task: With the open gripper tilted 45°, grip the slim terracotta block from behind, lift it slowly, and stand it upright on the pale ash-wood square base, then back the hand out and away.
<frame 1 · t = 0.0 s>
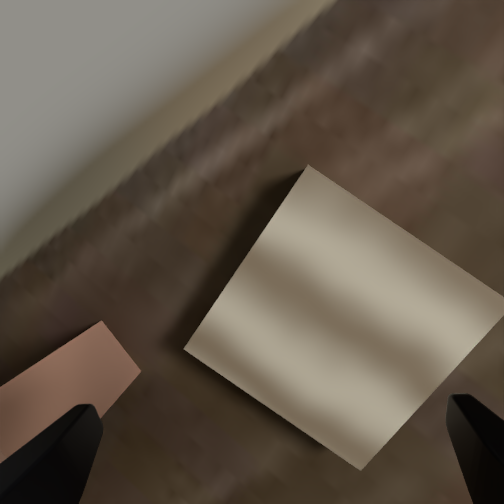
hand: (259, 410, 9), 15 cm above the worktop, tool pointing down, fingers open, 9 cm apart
terracotta block: (98, 362, 27), on the worktop
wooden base: (331, 311, 24), on the worktop
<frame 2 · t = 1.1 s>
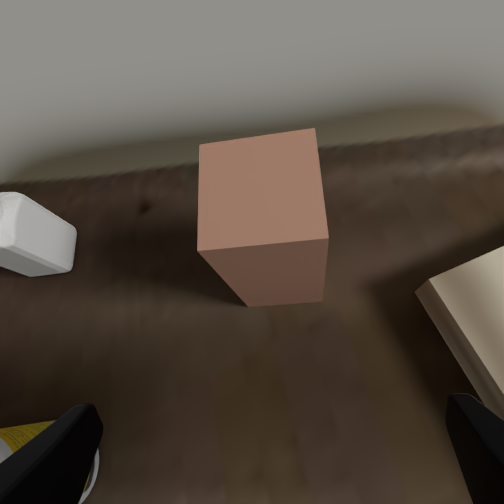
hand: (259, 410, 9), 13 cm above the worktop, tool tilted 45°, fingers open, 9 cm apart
supplement bottle: (65, 464, 22), on the worktop
terracotta block: (282, 269, 24), on the worktop
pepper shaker: (57, 254, 28), on the worktop
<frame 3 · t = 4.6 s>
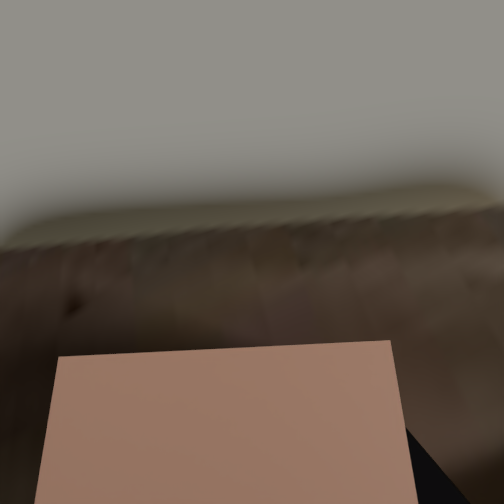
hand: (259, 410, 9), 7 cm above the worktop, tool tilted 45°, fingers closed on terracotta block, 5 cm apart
terracotta block: (284, 435, 14), on the worktop, touching gripper
when the fingers open (11 cm above the worktop, at t = 9.9 s): terracotta block drops 1 cm, resting on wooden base.
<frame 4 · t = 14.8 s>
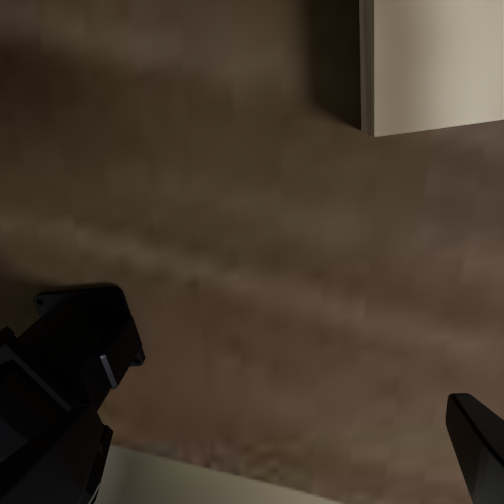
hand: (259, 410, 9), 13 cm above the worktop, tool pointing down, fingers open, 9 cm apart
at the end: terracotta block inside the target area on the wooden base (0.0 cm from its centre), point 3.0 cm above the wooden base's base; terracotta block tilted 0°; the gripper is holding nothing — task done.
